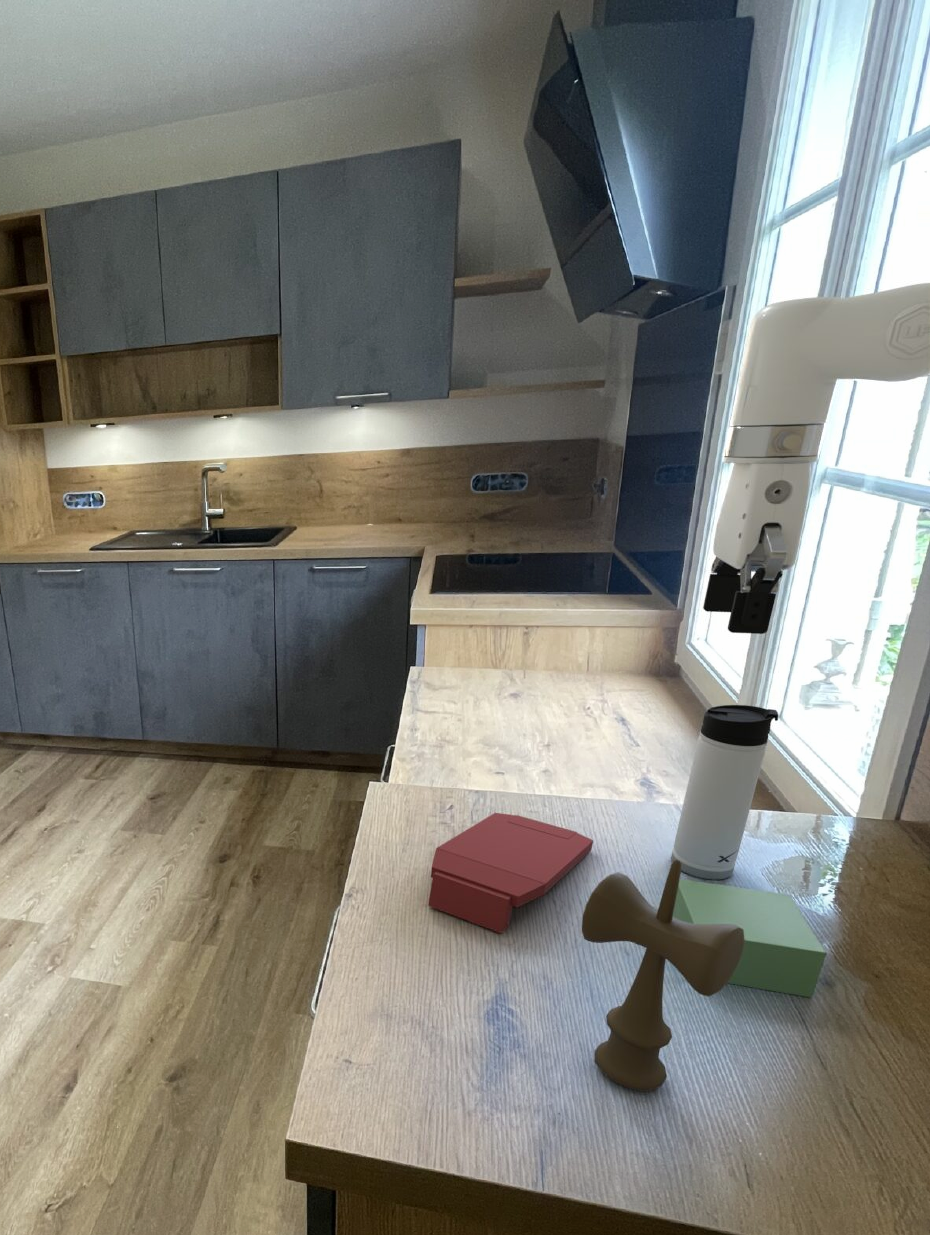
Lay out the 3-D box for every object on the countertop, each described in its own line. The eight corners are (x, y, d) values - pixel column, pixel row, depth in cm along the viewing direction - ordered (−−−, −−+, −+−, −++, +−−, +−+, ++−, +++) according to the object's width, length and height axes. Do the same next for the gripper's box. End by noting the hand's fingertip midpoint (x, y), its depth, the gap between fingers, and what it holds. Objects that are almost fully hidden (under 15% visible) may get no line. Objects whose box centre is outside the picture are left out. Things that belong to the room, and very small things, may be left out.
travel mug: (737, 886, 89) (781, 721, 82) (669, 872, 93) (706, 712, 85) (735, 861, 94) (777, 704, 87) (671, 848, 97) (706, 695, 90)
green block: (777, 935, 81) (790, 894, 79) (812, 998, 72) (827, 953, 70) (666, 918, 84) (675, 878, 82) (686, 976, 75) (697, 932, 74)
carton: (492, 844, 107) (411, 899, 88) (498, 810, 105) (417, 858, 87) (588, 873, 99) (521, 940, 81) (596, 837, 98) (530, 897, 80)
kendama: (591, 1023, 70) (633, 823, 63) (709, 1092, 62) (771, 874, 55) (552, 1052, 67) (590, 846, 60) (670, 1128, 59) (731, 903, 52)
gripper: (857, 447, 67) (806, 644, 73) (787, 442, 82) (750, 605, 88) (753, 450, 69) (712, 640, 75) (704, 444, 84) (673, 603, 90)
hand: (732, 621), depth 82 cm, fingers open, 9 cm apart
